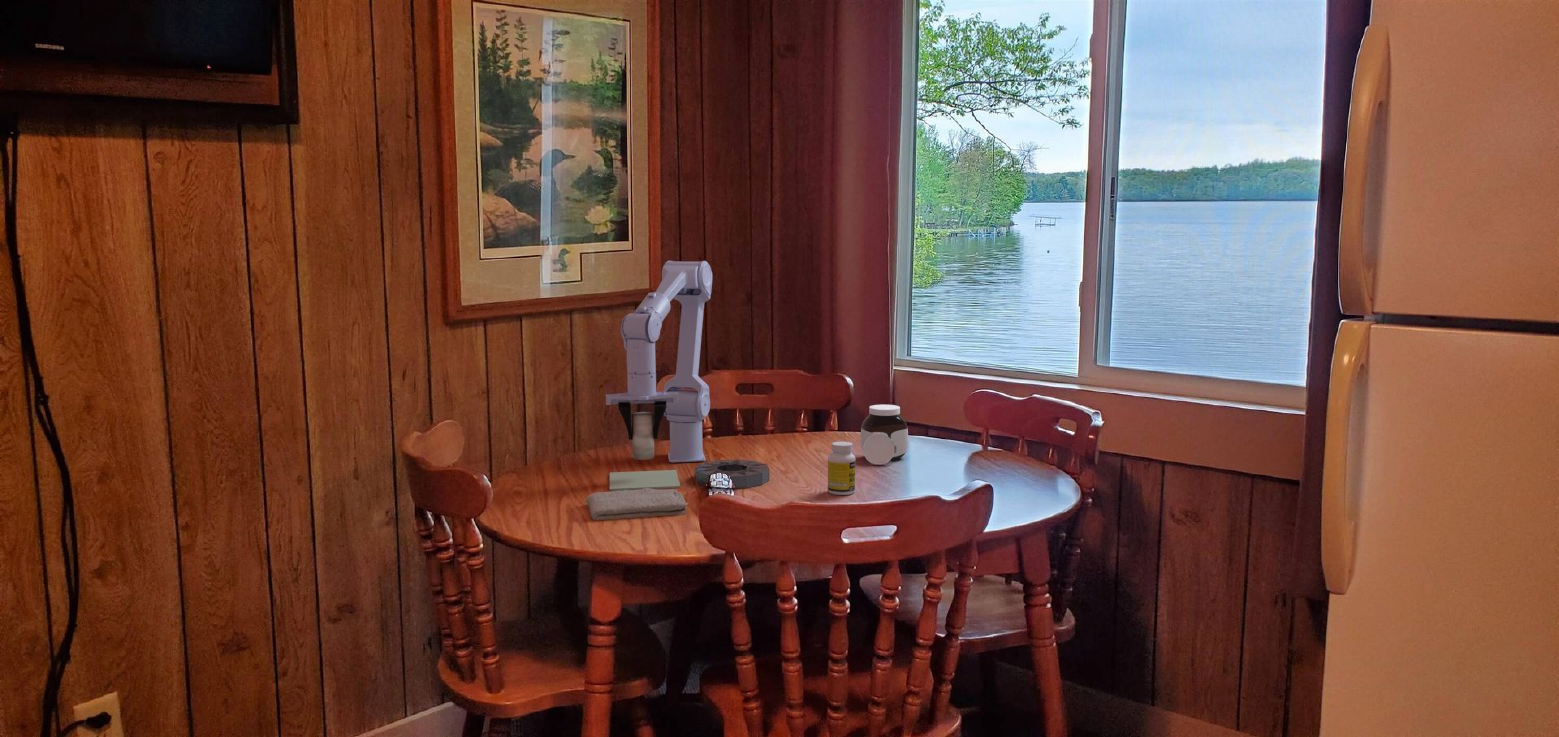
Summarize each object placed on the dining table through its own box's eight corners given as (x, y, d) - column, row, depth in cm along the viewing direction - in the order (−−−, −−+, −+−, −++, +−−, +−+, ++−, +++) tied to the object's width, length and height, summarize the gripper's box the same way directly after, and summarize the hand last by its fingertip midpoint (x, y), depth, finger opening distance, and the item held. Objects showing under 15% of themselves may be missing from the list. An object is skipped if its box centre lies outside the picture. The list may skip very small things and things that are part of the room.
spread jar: (897, 453, 248) (898, 402, 246) (919, 463, 237) (919, 411, 236) (848, 457, 244) (848, 406, 243) (868, 468, 234) (868, 414, 232)
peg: (632, 455, 224) (631, 412, 223) (653, 454, 225) (653, 411, 223) (632, 459, 220) (631, 416, 219) (654, 459, 220) (653, 415, 219)
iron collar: (693, 472, 230) (693, 461, 230) (763, 469, 232) (763, 458, 232) (699, 490, 215) (698, 477, 215) (773, 486, 218) (773, 474, 217)
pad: (609, 474, 229) (609, 472, 229) (676, 471, 231) (676, 469, 231) (609, 490, 215) (609, 488, 215) (680, 487, 217) (680, 485, 217)
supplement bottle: (853, 496, 210) (853, 446, 209) (825, 495, 211) (825, 445, 210) (857, 489, 215) (857, 441, 214) (830, 488, 216) (830, 440, 215)
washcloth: (690, 516, 198) (690, 500, 198) (591, 524, 194) (590, 507, 193) (679, 500, 210) (679, 484, 209) (585, 507, 205) (585, 491, 205)
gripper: (605, 376, 215) (607, 443, 217) (678, 374, 217) (679, 440, 219) (605, 371, 222) (607, 436, 224) (676, 369, 224) (677, 434, 226)
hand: (643, 438), depth 222 cm, fingers closed on peg, 4 cm apart
